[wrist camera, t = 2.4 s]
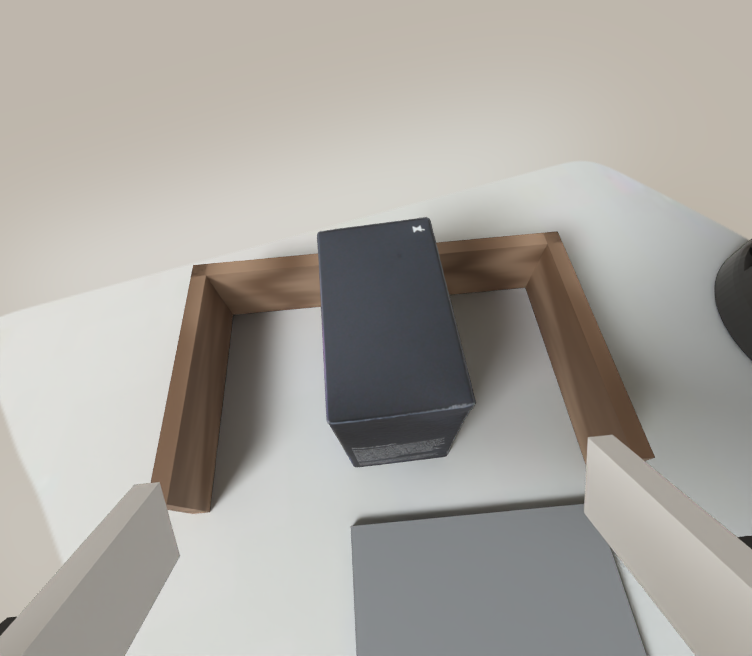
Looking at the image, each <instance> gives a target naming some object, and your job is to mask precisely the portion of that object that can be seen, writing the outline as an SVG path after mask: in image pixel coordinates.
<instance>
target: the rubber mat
mask: <svg viewBox="0 0 752 656" xmlns="http://www.w3.org/2000/svg"><path fill="white" fill-rule="evenodd" d="M351 543H352V565H353V587H354V609H355V631H356V653H357V656H647V655H646V652H645V649H644V646H643V643H642V640H641V638H640V635H639V632H638V629H637V626H636V623H635V620H634V617H633V614H632V611H631V608H630V605H629V602H628V599H627V596H626V593H625V590H624V587H623V584H622V581H621V578H620V575H619V572H618V569H617V566H616V563H615V560H614V557H613V554H612V551H611V548H610V546H609V544H608V543H607V542H606V540H605V539H604V538H603V537H602V535H601V534H600V533H599V531H598V530H597V529H596V528H595V526H594V525H593V524H592V522H591V521H590V520H589V519H588V517H587V516H586V515H585V513H584V504H576V505H566V506H555V507H545V508H534V509H524V510H514V511H503V512H493V513H482V514H472V515H462V516H451V517H441V518H430V519H420V520H410V521H399V522H389V523H379V524H368V525H358V526H351Z"/></svg>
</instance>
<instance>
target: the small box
mask: <svg viewBox="0 0 752 656" xmlns="http://www.w3.org/2000/svg"><path fill="white" fill-rule="evenodd" d="M317 243H318V260H319V279H320V297H321V316H322V336H323V356H324V378H325V399H326V417H327V422H328V424H329V425H330V427H331V428H332V430H333V432H334V433H335V435H336V436H337V438H338V440H339V442H340V443H341V445H342V447H343V448H344V450H345V452H346V454H347V455H348V457H349V459H350V461H351V463H352V464H353V466H354V467H364V466H373V465H382V464H391V463H398V462H406V461H414V460H422V459H431V458H438V457H445V456H447V454H448V453H449V450H450V447H451V445H452V443H453V441H454V439H455V437H456V435H457V433H458V431H459V430H460V427H461V425H462V423H463V422H464V420H465V418H466V416H467V415H468V413H469V412H470V410H472V409H473V407H474V406H475V404H476V402H475V398H474V394H473V389H472V385H471V381H470V377H469V373H468V369H467V365H466V361H465V357H464V353H463V349H462V345H461V341H460V337H459V333H458V329H457V325H456V321H455V316H454V312H453V308H452V304H451V300H450V296H449V292H448V289H447V284H446V281H445V277H444V273H443V268H442V264H441V261H440V256H439V252H438V248H437V245H436V241H435V237H434V233H433V229H432V225H431V221H430V219H429V218H427V217H423V218H417V219H409V220H402V221H395V222H386V223H379V224H371V225H364V226H357V227H348V228H340V229H334V230H327V231H320V232H318V234H317Z"/></svg>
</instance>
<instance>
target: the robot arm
mask: <svg viewBox="0 0 752 656" xmlns="http://www.w3.org/2000/svg"><path fill="white" fill-rule="evenodd" d="M715 297H716V303H717V307H718V310H719V313H720V316H721V318H722V320H723V322H724V324H725V326H726V328H727V330H728V331H729V333H730V334H731V336H732V337H733V339H734V340H735V342H736V343H737V344H738V345H739V347H740V348H741V349H742V350H743V351H744V353H745V354H746V355H747V356H748V357H749V358H750V359H751V360H752V239H751V240H749V241H748V242H747V243H746V244H745V245H744V246H742V247H741V248H740V249H739V250H738V251H737V252H735V253H734V254H733V255H732V256H731V257H730V258H728V259H727V260H726V262H725V263H724V264H723V265H722V267H721V269H720V270H719V273H718V275H717V278H716V284H715ZM584 513H585V515H586V516H587V517H588V519H589V520H590V521H591V522H592V524H593V525H594V526H595V528H596V529H597V530H598V531H599V533H600V534H601V535H602V537H603V538H604V539H605V540H606V542H607V543H608V544H609V546H610V547H611V548H612V549H613V551H614V552H615V553H616V554H617V556H618V557H619V558H620V560H621V561H622V562H623V563H624V565H625V566H626V567H627V569H628V570H629V571H630V572H631V574H632V575H633V576H634V578H635V579H636V580H637V581H638V583H639V584H640V585H641V586H642V588H643V589H644V590H645V592H646V593H647V594H648V595H649V597H650V598H651V599H652V601H653V602H654V603H655V604H656V606H657V607H658V608H659V610H660V611H661V612H662V613H663V615H664V616H665V617H666V618H667V620H668V621H669V622H670V624H671V625H672V626H673V627H674V629H675V630H676V631H677V633H678V634H679V635H680V636H681V638H682V639H683V640H684V642H685V643H686V644H687V645H688V647H689V648H690V649H691V650H692V652H693V653H694V654H695V656H752V536H744V537H736V536H735V535H734V534H733V533H731V532H730V531H729V530H728V529H726V528H725V527H724V526H723V525H722V524H720V523H719V522H718V521H717V520H716V519H714V518H713V517H712V516H711V515H709V514H708V513H707V512H706V511H705V510H703V509H702V508H701V507H700V506H699V505H697V504H696V503H695V502H694V501H692V500H691V499H690V498H689V497H688V496H686V495H685V494H684V493H683V492H682V491H680V490H679V489H678V488H677V487H675V486H674V485H673V484H672V483H671V482H669V481H668V480H667V479H666V478H664V477H663V476H662V475H661V474H660V473H658V472H657V471H656V470H655V469H654V468H652V467H651V466H650V465H649V464H647V463H646V462H645V461H644V460H643V459H641V458H640V457H639V456H638V455H637V454H635V453H634V452H633V451H632V450H630V449H629V448H628V447H627V446H626V445H624V444H623V443H622V442H621V441H620V440H618V439H617V438H616V437H615V436H613V435H605V436H595V437H588V444H587V463H586V482H585V501H584ZM179 557H180V554H179V550H178V547H177V543H176V540H175V536H174V532H173V529H172V525H171V521H170V518H169V514H168V511H167V507H166V503H165V500H164V496H163V493H162V489H161V485H160V482H156V483H146V484H137V485H134V486H133V487H132V488H131V489H130V490H129V491H128V492H127V494H126V495H125V496H124V497H123V498H122V499H121V500H120V501H119V503H118V504H117V505H116V506H115V507H114V508H113V509H112V510H111V512H110V513H109V514H108V515H107V516H106V517H105V518H104V520H103V521H102V522H101V523H100V524H99V525H98V526H97V527H96V529H95V530H94V531H93V532H92V533H91V534H90V535H89V536H88V538H87V539H86V540H85V541H84V542H83V543H82V544H81V545H80V547H79V548H78V549H77V550H76V551H75V552H74V553H73V555H72V556H71V557H70V558H69V559H68V560H67V561H66V562H65V564H64V565H63V566H62V567H61V568H60V569H59V570H58V571H57V573H56V574H55V575H54V576H53V577H52V578H51V579H50V580H49V582H48V583H47V584H46V585H45V586H44V587H43V589H42V590H41V591H40V592H39V593H38V594H37V595H36V596H35V597H34V599H33V600H32V601H31V602H30V603H29V604H28V605H27V606H26V608H25V609H24V610H23V611H22V612H21V613H20V614H19V615H18V617H9V618H7V619H6V620H4V621H3V622H2V623H1V624H0V656H125V654H126V653H127V651H128V649H129V647H130V645H131V644H132V642H133V640H134V638H135V636H136V634H137V633H138V631H139V629H140V627H141V625H142V624H143V622H144V620H145V618H146V616H147V615H148V613H149V611H150V609H151V607H152V606H153V604H154V602H155V600H156V598H157V597H158V595H159V593H160V591H161V589H162V588H163V586H164V584H165V582H166V580H167V578H168V577H169V575H170V573H171V571H172V569H173V568H174V566H175V564H176V562H177V560H178V559H179Z"/></svg>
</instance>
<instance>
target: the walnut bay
mask: <svg viewBox="0 0 752 656" xmlns="http://www.w3.org/2000/svg"><path fill="white" fill-rule="evenodd" d="M436 245H437V248H438V252H439V256H440V261H441V264H442V268H443V273H444V277H445V281H446V284H447V289H448V292H449V295H450V294H461V293H472V292H482V291H493V290H504V289H515V288H526V291H527V294H528V296H529V299H530V302H531V305H532V308H533V311H534V314H535V317H536V320H537V323H538V326H539V329H540V332H541V335H542V337H543V340H544V343H545V346H546V349H547V352H548V355H549V358H550V361H551V364H552V367H553V370H554V373H555V376H556V379H557V381H558V384H559V387H560V390H561V393H562V396H563V399H564V402H565V405H566V408H567V411H568V414H569V417H570V420H571V422H572V425H573V428H574V431H575V434H576V437H577V440H578V443H579V446H580V449H581V452H582V455H583V458H584V461H585V464H586V463H587V444H588V437H595V436H605V435H613V436H615V437H616V438H617V439H618V440H620V441H621V442H622V443H623V444H624V445H626V446H627V447H628V448H629V449H630V450H632V451H633V452H634V453H635V454H637V455H638V456H639V457H640V458H641V459H643V460H644V461H646V460H649V459H652V458H655V456H654V454H653V452H652V449H651V447H650V445H649V442H648V440H647V438H646V435H645V433H644V431H643V429H642V426H641V424H640V422H639V419H638V417H637V415H636V412H635V410H634V408H633V405H632V403H631V401H630V398H629V396H628V394H627V391H626V389H625V387H624V384H623V382H622V380H621V377H620V375H619V373H618V371H617V368H616V366H615V364H614V361H613V359H612V357H611V354H610V352H609V350H608V347H607V345H606V343H605V340H604V338H603V336H602V333H601V331H600V329H599V326H598V324H597V322H596V319H595V317H594V315H593V313H592V310H591V308H590V306H589V303H588V301H587V299H586V296H585V294H584V292H583V289H582V287H581V285H580V282H579V280H578V278H577V275H576V273H575V271H574V268H573V266H572V264H571V261H570V259H569V257H568V255H567V252H566V250H565V248H564V245H563V243H562V241H561V238H560V236H559V234H558V231H557V232H547V233H536V234H525V235H514V236H503V237H493V238H482V239H471V240H460V241H450V242H439V243H436ZM311 307H321V297H320V279H319V260H318V254H309V255H299V256H288V257H277V258H266V259H255V260H245V261H234V262H223V263H212V264H201V265H193V269H192V274H191V279H190V284H189V289H188V295H187V300H186V305H185V310H184V315H183V320H182V325H181V330H180V335H179V341H178V346H177V351H176V356H175V361H174V366H173V371H172V376H171V381H170V387H169V392H168V397H167V402H166V407H165V412H164V417H163V422H162V427H161V432H160V438H159V443H158V448H157V453H156V458H155V463H154V468H153V473H152V478H151V483H156V482H160V485H161V489H162V493H163V496H164V500H165V503H166V507H167V510H172V511H179V512H185V513H191V514H196V513H206V512H210V504H211V496H212V488H213V479H214V471H215V463H216V454H217V446H218V438H219V429H220V421H221V413H222V404H223V396H224V388H225V379H226V371H227V363H228V354H229V346H230V337H231V329H232V321H233V315H236V314H247V313H258V312H268V311H279V310H290V309H300V308H311Z"/></svg>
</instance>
